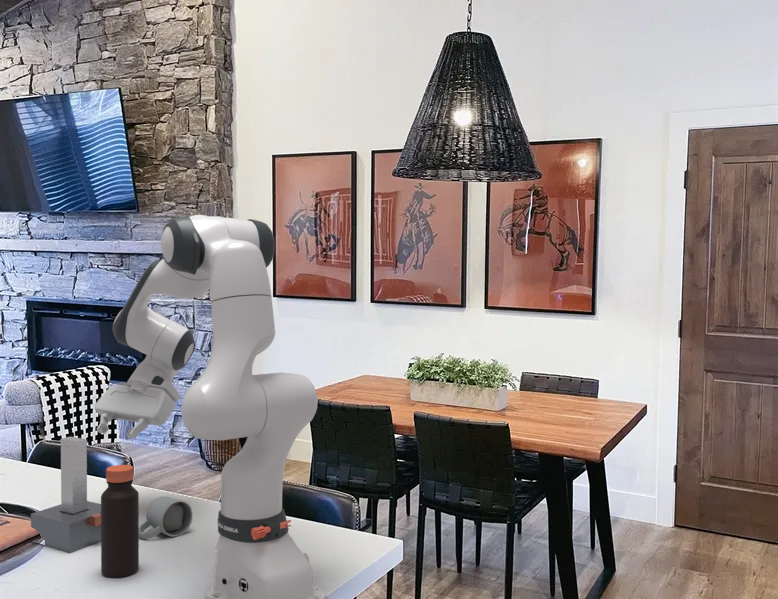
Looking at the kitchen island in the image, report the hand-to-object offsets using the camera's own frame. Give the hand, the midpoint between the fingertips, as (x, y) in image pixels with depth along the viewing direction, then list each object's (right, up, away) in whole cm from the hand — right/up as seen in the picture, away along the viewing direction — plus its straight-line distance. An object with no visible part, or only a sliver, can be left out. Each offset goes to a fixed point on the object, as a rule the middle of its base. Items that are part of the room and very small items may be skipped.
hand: (115, 434), depth 174 cm
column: (-6, -21, -9) cm, 23 cm away
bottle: (+10, -22, -25) cm, 35 cm away
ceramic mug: (+12, -21, -5) cm, 25 cm away
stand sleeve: (-6, -21, -9) cm, 23 cm away
